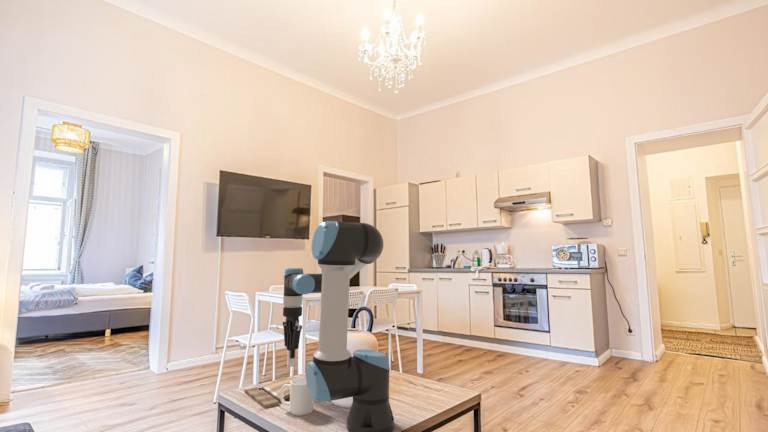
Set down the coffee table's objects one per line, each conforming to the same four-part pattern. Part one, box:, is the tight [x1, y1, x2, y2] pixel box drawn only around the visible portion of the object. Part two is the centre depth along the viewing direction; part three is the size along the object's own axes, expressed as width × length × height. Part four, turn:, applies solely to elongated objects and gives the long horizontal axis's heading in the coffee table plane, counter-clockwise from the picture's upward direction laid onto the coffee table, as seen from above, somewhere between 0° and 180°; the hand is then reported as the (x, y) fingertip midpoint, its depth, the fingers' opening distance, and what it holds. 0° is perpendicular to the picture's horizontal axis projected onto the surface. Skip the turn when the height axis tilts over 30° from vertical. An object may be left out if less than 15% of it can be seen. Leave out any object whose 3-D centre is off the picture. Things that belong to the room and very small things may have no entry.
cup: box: [280, 377, 315, 417], centre depth 138 cm, size 8×12×10 cm
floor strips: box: [244, 386, 280, 409], centre depth 149 cm, size 20×6×1 cm, turn 39°
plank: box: [261, 376, 292, 403], centre depth 154 cm, size 16×10×2 cm, turn 38°
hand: (290, 366), depth 157 cm, fingers closed
